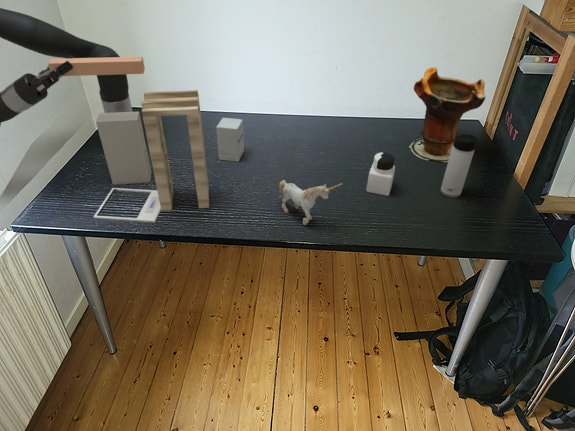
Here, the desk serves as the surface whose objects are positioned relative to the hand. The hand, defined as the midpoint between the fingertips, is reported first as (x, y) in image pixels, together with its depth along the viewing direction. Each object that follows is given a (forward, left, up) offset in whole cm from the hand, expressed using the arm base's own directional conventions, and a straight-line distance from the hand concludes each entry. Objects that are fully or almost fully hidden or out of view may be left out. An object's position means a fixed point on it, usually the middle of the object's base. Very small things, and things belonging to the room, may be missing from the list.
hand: (72, 61), depth 124 cm
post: (0, +8, -39) cm, 40 cm away
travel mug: (+19, +109, -39) cm, 117 cm away
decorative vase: (-7, +114, -39) cm, 121 cm away
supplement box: (-11, +41, -39) cm, 58 cm away
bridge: (+13, +26, -39) cm, 48 cm away
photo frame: (+14, +10, -39) cm, 43 cm away
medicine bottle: (+14, +87, -39) cm, 96 cm away
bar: (0, +6, -3) cm, 7 cm away
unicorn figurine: (+24, +62, -39) cm, 77 cm away
